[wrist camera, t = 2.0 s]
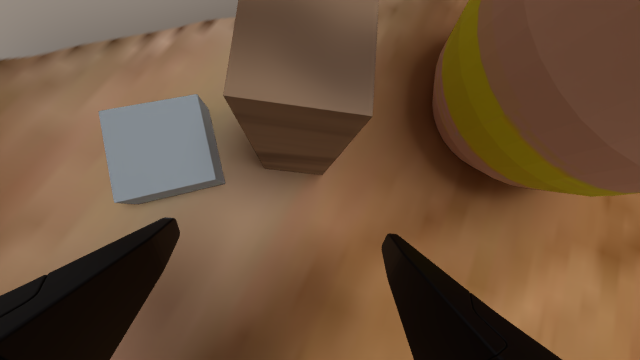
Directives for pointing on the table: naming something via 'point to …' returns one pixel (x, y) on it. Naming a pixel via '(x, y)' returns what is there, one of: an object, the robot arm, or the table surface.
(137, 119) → the plinth
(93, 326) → the robot arm
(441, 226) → the table surface
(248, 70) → the post
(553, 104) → the vase
